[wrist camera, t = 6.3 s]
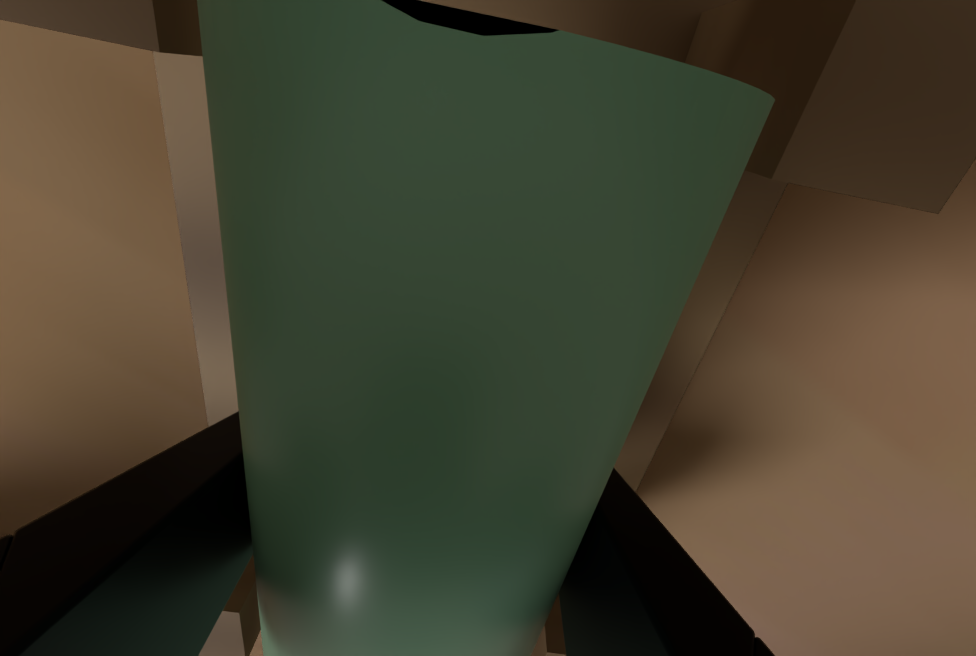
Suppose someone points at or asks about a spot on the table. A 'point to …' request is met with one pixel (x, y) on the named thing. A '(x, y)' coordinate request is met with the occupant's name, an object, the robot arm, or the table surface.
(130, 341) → the table surface
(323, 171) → the bottle
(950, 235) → the table surface
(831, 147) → the cradle
